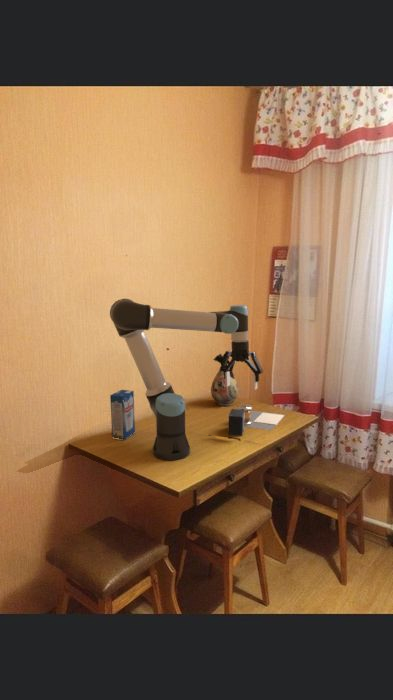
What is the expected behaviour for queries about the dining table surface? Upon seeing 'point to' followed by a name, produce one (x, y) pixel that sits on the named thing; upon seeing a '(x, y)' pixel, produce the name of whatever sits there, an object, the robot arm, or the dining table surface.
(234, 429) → the small box
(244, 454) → the dining table surface
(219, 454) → the dining table surface
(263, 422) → the board
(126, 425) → the milk carton
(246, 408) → the bobbin
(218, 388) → the ceramic jug
